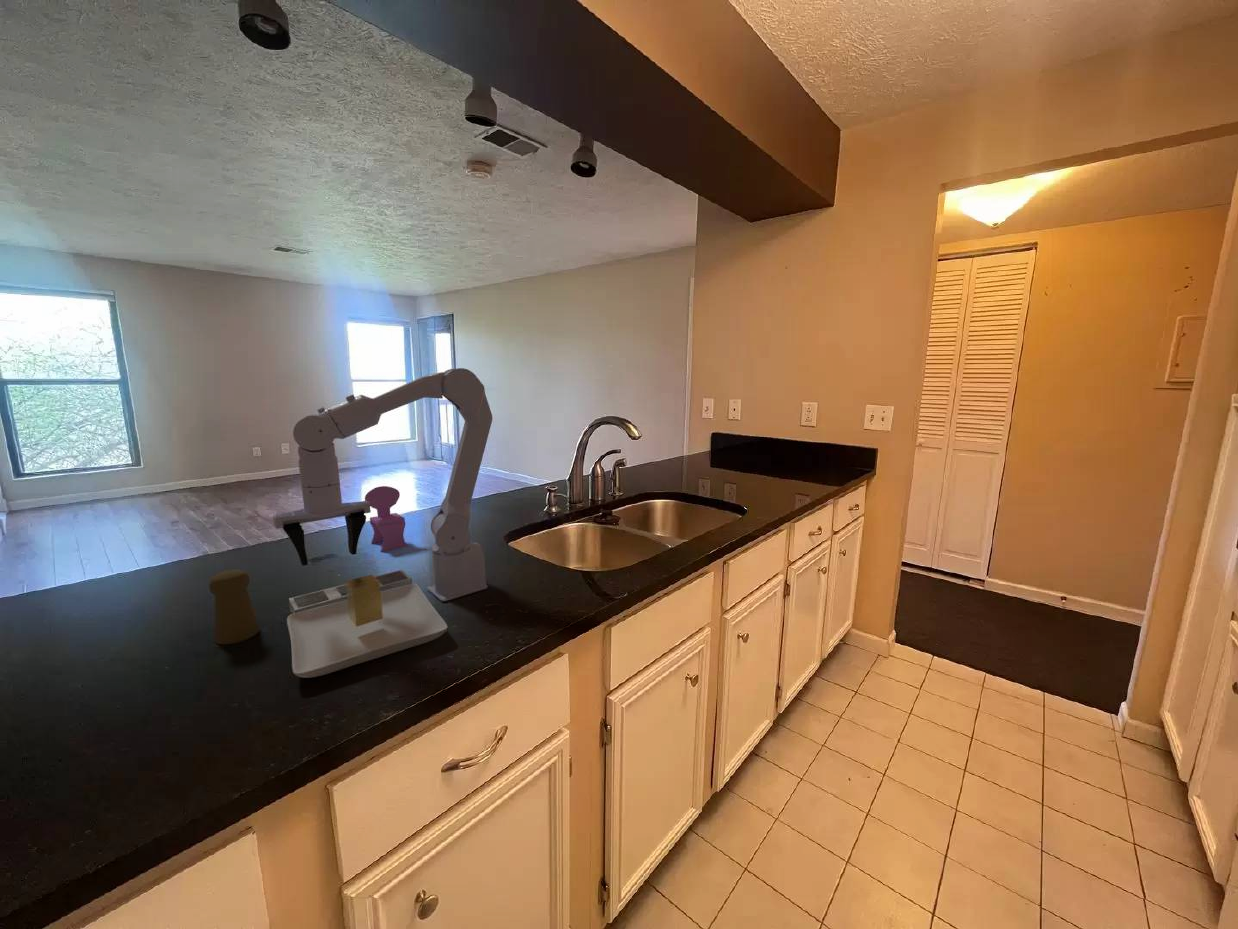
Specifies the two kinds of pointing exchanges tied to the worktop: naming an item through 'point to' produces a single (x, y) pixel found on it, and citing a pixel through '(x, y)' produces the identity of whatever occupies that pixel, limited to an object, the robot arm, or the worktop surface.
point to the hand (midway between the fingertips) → (329, 558)
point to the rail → (344, 592)
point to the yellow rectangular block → (364, 600)
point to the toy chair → (386, 518)
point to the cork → (233, 607)
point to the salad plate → (361, 632)
